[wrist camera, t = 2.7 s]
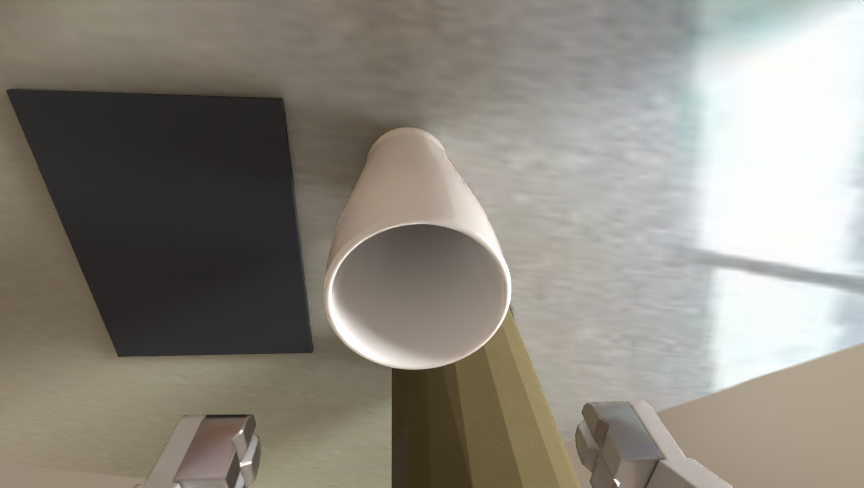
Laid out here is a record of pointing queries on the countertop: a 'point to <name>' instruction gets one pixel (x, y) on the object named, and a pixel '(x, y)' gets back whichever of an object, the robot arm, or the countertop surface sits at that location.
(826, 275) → the countertop surface
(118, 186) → the place mat
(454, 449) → the canister
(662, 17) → the countertop surface
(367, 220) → the white tapered cylinder
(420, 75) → the countertop surface
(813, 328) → the countertop surface
